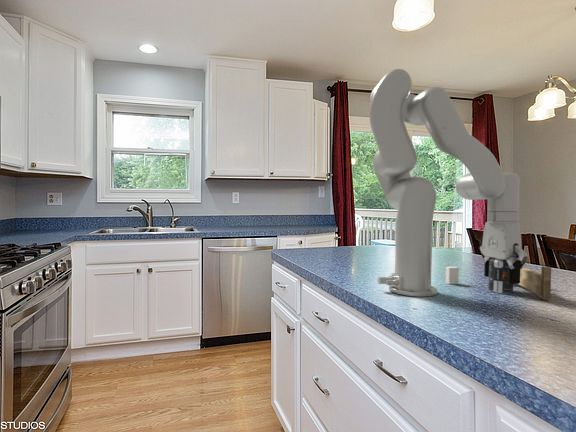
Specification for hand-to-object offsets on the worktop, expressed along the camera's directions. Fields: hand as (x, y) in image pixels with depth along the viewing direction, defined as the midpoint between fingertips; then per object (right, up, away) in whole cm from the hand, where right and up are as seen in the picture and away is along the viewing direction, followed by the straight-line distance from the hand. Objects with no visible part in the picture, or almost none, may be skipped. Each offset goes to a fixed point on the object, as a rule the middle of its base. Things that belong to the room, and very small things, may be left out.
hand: (501, 279), depth 98 cm
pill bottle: (0, -4, 0) cm, 4 cm away
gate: (+7, -3, -1) cm, 8 cm away
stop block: (-9, -3, +10) cm, 14 cm away
